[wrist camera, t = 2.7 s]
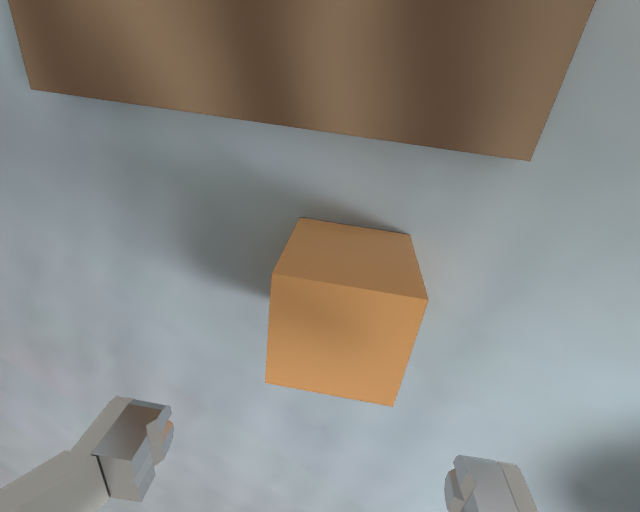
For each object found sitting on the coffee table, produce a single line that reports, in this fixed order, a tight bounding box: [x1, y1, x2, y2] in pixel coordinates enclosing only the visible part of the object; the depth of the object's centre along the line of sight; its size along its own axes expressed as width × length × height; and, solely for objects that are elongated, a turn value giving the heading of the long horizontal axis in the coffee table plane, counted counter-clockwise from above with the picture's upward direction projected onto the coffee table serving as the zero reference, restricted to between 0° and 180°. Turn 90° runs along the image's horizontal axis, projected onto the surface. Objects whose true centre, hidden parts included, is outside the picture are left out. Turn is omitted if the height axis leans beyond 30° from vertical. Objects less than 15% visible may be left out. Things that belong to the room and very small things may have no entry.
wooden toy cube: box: [265, 217, 428, 407], centre depth 15 cm, size 5×5×6 cm
